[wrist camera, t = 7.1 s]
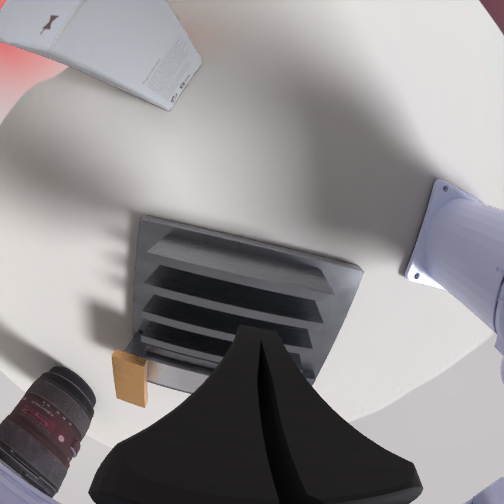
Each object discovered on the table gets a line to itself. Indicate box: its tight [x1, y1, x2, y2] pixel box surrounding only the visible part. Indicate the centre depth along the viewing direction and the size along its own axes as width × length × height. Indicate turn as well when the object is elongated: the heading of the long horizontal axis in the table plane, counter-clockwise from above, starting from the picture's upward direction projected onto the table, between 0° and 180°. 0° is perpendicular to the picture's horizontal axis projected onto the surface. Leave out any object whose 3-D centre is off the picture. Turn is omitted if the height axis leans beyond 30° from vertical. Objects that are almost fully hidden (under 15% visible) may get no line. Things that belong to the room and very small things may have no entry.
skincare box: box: [0, 0, 203, 111], centre depth 9 cm, size 6×4×12 cm
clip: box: [145, 351, 214, 393], centre depth 18 cm, size 8×2×4 cm, turn 76°
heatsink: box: [112, 216, 364, 408], centre depth 18 cm, size 15×14×5 cm
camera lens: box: [0, 366, 96, 498], centre depth 17 cm, size 8×8×15 cm
